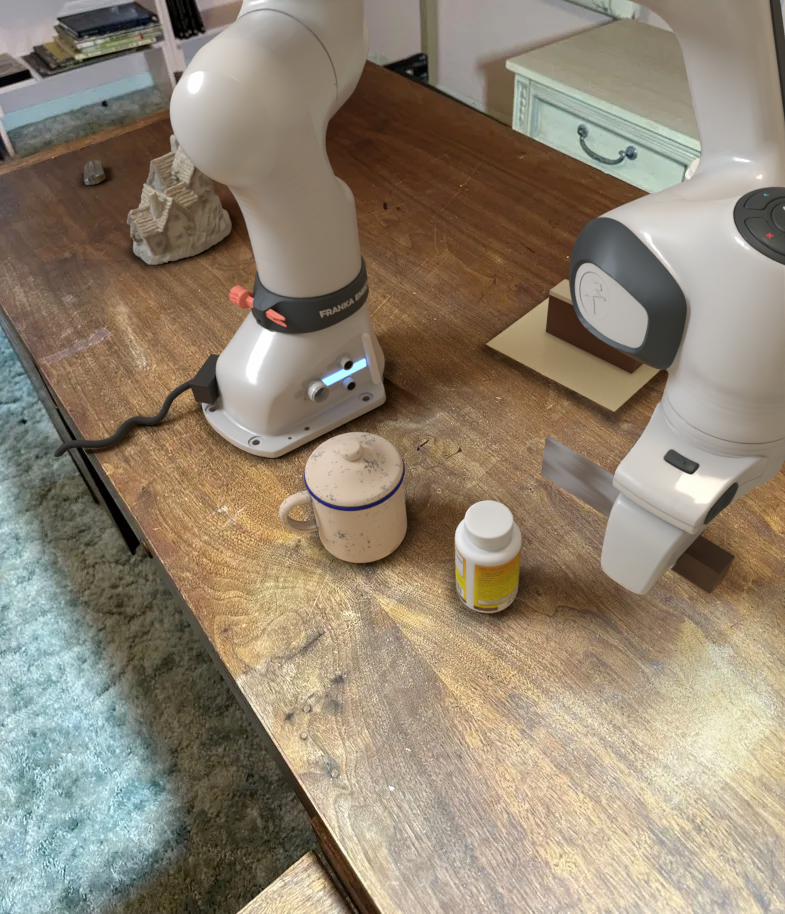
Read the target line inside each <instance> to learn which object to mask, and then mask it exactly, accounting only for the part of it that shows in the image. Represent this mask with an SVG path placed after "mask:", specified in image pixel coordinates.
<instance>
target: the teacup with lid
mask: <svg viewBox="0 0 785 914" xmlns="http://www.w3.org/2000/svg"><path fill="white" fill-rule="evenodd" d="M405 474H406V465H405V461H404V457H403V455H402V454H401V452H400V451H399V450H398V447H396V445H394V444H393V443H392V442H391V441H390V440H388V439H387V438H385V437H383V436H381V435H378V434H375V433H370V432H366V431H365V432H364V431H353V432H346V433H342V434H338V435H335V436H333V437H330V438H328V439H326V440H325V441H323V442H321V444H319V445H318V446H316V448H315V449H314V451H313V452H311V454H310V456H309V457H308V459H307V461H306V464H305V467H304V473H303V480H304V485H305V488H306V490H302V491H299V492H296V493H293V494H290V495H289V496H287V497H286V498H285V499H284V500H283V501H282V502H281V504H280V506H279V509H278V514H279V518H280V521H281V523H282V524H283V526H284V527H285V528H286V529H288V530H289V531H291V532H293V533H299V534H308V533H313V532H316V531H318V534H319V539H320V542H321V543H322V545H323V547H324V548H325V549H326V550H327V552H328V553H330V554H331V555H332V556H334V557H335V558H337V559H339V560H341V561H345V562H348V563H354V564H367V563H372V562H376V561H379V560H381V559H383V558H386V557H387V556H389V555H391V554H392V553H393V552H394V551H396V549H398V547H399V546H400V545H401V543H402V542H403V541H404V539H405V537H406V534H407V530H408V529H407V528H408V519H407V518H408V517H407V508H406V507H407V506H406V496H405V483H404V478H405ZM309 503H311V504H312V509H313V512H314V518H311V519H307V520H297V519H294V518H293V517H290V516H289V514H290V513H291V511H292V510H294V509H295V508H297V507H299V506H302V505H305V504H309Z"/></svg>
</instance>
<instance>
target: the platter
mask: <svg viewBox="0 0 785 914" xmlns="http://www.w3.org/2000/svg"><path fill="white" fill-rule="evenodd" d="M548 302H549V297H547V298H546V299H545V300H543V301H542V302H540V303H539V304H538V305H536V306H535V307H534V308H533V309H531V310H530V311H528V312H527V313H526V314H524V315H523V316H521V317H520V318H519V319H518V320H516V321H515V322H513V323H512V324H511V325H509V326H508V327H506V328H505V329H504V330H502V331H501V332H500V333H499V334H497V335H496V336H495V337H493V338H492V339H491V340H489V341H488V342H487V343H485V345H486V346H487V347H490V348H492V349H493V350H495V351H497V352H499V353H501V354H503V355H505V356H506V357H509V358H510V359H512V360H514V361H517V362H518V363H520V364H521V365H524V366H526V367H527V368H529V369H532V370H533V371H535V372H537V373H539V374H541V375H543V376H545V377H547V378H549V379H550V380H553V381H555V382H557V383H558V384H560V385H561V386H564V387H566V388H568V389H570V390H571V391H574V392H575V393H577V394H579V395H580V396H583V397H585V398H586V399H589V400H590V401H593V402H595V404H598V405H600V406H602V407H604V408H606V409H607V410H609V411H612V412H613V413H615V412H616V411H618V410H619V408H621V406H623V405H624V404H625V403H626V402H627V401H628V400H630V398H632V397H633V396H634V395H635V394H636V393H637V392H638V391H639V390H640V389H642V388H643V387H644V386H645V385H646V384H647V383H648V382H649V381H650V380H651V379H653V378H654V377H655V375H657V374H658V373H659V372H660V371H661V370H659V369H655V368H653V367H650V366H648V365H646V364H642V365H641V366H640V367H639V368H638V369H637V370H635V371H634V372H633V373H632V374H631V373H629V372H627V371H625V370H623V369H621V368H619V367H617V366H614V365H612V364H610V363H608V362H606V361H604V360H602V359H600V358H598V357H596V356H594V355H592V354H590V353H588V352H586V351H584V350H582V349H580V348H578V347H576V346H574V345H571V344H569V343H567V342H565V341H563V340H561V339H559V338H557V337H555V336H553V335H551V334H549V333H547V332H546V323H547V312H548Z"/></svg>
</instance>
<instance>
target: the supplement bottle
mask: <svg viewBox="0 0 785 914" xmlns="http://www.w3.org/2000/svg"><path fill="white" fill-rule="evenodd" d="M522 535H523V534H522V531H521V529H520V527H519V525H518V524H517V523H516V521H515V520H514V515H513V512H512V511H511V509H510V508H509V507H508V506H506V505H505V504H503V503H502V502H500V501H496V500H489V499H488V500H487V499H486V500H482V501H477V502H475V503H473V504H472V505H470V506H469V507H468V509H467V510H466V512H465V515H464V518H463V519H462V520H461V521H460V522H459V524H458V525H457V527H456V530H455V532H454V563H455V589H456V594H457V596H458V598H459V599H460V601H461V602H462V603H463V604H464V605H465V606H466V607H467V608H469V609H471V610H473V611H475V612H478V613H483V614H494V613H498V612H502V611H503V610H505V609H506V608H508V607H509V606H510V605H512V603H513V602H514V600H515V599H516V597H517V594H518V590H519V579H520V570H521V569H520V568H521V567H520V566H521V556H522V544H523V537H522Z"/></svg>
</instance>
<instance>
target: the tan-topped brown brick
mask: <svg viewBox="0 0 785 914" xmlns="http://www.w3.org/2000/svg"><path fill="white" fill-rule="evenodd" d="M548 298H549V302H548V312H547V323H546V332H547V333H549V334H551V335H553V336H555V337H557V338H559V339H561V340H563V341H565V342H567V343H569V344H571V345H574V346H576V347H578V348H580V349H582V350H584V351H586V352H588V353H590V354H592V355H594V356H596V357H598V358H600V359H602V360H604V361H606V362H608V363H610V364H612V365H614V366H617V367H619V368H621V369H623V370H625V371H627V372H629V373H631V374H632V373H633V372H634V371H635V370H637V369H638V368H639V367H640V366H641V365H642V364H643V363H641V362H639V361H637V360H635V359H633V358H631V357H629V356H627V355H626V354H624V353H622V352H620V351H618V350H617V349H615V348H613V347H611V346H609V345H608V344H606V343H604V342H603V341H601V340H600V339H598V338H597V337H596V336H594V335H593V334H592V333H591V332H590V331H588V330H587V329H586V328H585V327H584V326H583V324H582V323H581V322H580V320H579V319H578V317H577V315H576V313H575V310H574V307H573V303H572V299H571V294H570V286H569V279H566V278H565V279H563V280H562V281H560V282H559V283H557V284H556V285H555V286H553V287H552V288H551V289H550V290H549V293H548Z"/></svg>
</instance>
